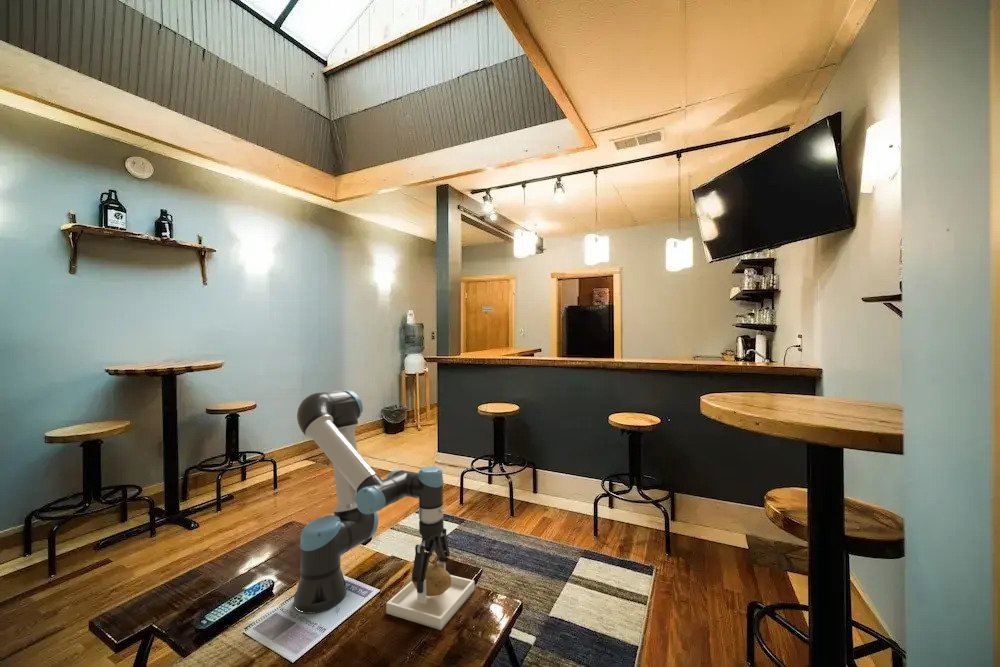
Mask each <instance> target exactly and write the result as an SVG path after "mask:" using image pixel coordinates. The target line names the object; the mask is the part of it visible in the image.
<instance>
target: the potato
mask: <svg viewBox="0 0 1000 667" xmlns="http://www.w3.org/2000/svg"><path fill="white" fill-rule="evenodd" d="M412 574H413V568H412V570H411V575H412ZM450 575H451V574H450V572H448V571H447V569H446V570H445V569H443V568H442V567H440V566H437V564H434V563H430V562H429V563H428V567H427V571H426V575H425V579H424V580H426V595H427V596H437V595H440V594H443V593H444V592H445V591H446V590H447V589H448V588H449V587H450V586H451V577H450ZM421 577H422V576H421ZM413 583H414V586H415V588H416V589H417V583H416V582H413Z"/></svg>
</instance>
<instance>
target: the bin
mask: <svg viewBox="0 0 1000 667" xmlns="http://www.w3.org/2000/svg"><path fill="white" fill-rule="evenodd" d="M450 577H451V586H450V587H449V588H448V589H447V590H446V591H445V592H444V593H443V594H440V595H437V596H427V595H426V604H423V603H419V602H417V589H416V588H415V586H414V583H413V582H412V580H410V582H408V583H407V584H406V585H405V586H404V587H402V589H400V590H399V591H398V592H397V593H396V594H395V595H394V596H392V597H391V598H390V599H389V600H388V601H386V605H385V606H386V607H385V608H386V609H385V611H386V612H385V613H386V614H387V615H389V616H390V615H391V616H394V617H396V618H400V619H404V620H407V621H409V622H414V623H416V624H419V625H423V626H426V627H429V628H433V629H436V630H438V631H442V630H443V628H444V627H445V626H446V625H447V624H448V622H449V621H450V620H452V618H453V617H454V615H455V614H456V613H457V612H458V611H459V610H460V608H461V607H462V606H463V605H464V604H465V602H466V601H467V600H468V599H469V598H470V596H471V595H472V594H473V592H475V588H476V587H475V580H473V579H469V578H465V577H461V576H456V575H454V574H450Z"/></svg>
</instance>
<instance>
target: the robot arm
mask: <svg viewBox="0 0 1000 667" xmlns="http://www.w3.org/2000/svg"><path fill="white" fill-rule="evenodd" d="M363 410H364V407H363V402H362V398H361V397H360V396H359V394H357V393H356V392H355V391H353V390H349V389H346V390H345V389H339V390H338V389H337V390H332V391H325V392H324V391H322V392H315V393H313V394H310V395H308V396H306V397H305V398H304V399H303V400H302V401H301V403H300V405H299V406H298V409H297V413H296V421H297V424H298V427H299V429H300V430H301V432H302V433H303V435H304V436H305V437H306V438H307V439H310V440H313V441H314V442H315V444H316V445H317V446H318V447H319V449H320V450H322V451H321V452H323V453H324V455H325V456H326V457H327V458H328V459H329V461H330V462H331V463H332V467H333V468H332V469H333V474H334V475H333V476H334V483H335V493H336V500H337V504H336V506H335V507H334V509H333V513H334V515H332V514H330V515H325V516H322V517H321V516H319V517H317V518H315V519H313V520H310V521H309V522H308V523H307V524H305V526H304V527H303V528H302V530H301V533H300V539H299V548H300V562H299V563H300V568H299V570H300V572H299V573H300V578H299V582H298V585H297V588H296V591H295V593H294V596H293V607H294V606H295V607H296V608H297V609H298V610H300V611H303V612H306V613H305V614H308V613H307V612H312V613H311V614H314V613H313V612H315V613H319V612H320V613H321V612H323V611H326V610H329V609H331V608H333V607H335V606H336V605H338V604H339V603H341V602H342V600H344V599H345V597H346V595H347V582H346V581H345V578H344V575H343V571H342V569H341V557H342V555H344V554H345V553H347V552H349V551H351V550H353V549H355V548H356V547H358V546H359V545H362V544H364V543H366V542H367V541H368V540H369V539H370V538H373V536H374V535H375V533H376V532H377V530H378V526H379V514H378V512H379V511H382V510H383V509H384V508H387V507H388V506H390V505H392V504H394V503H396V502H398V501H401V500H402V499H404V498H408V497H409V498H414V499H418V519H419V522H418V532H419V534H420V535H421V538H422V539H421V543H420V544H416V545H415V547H414V552H415V556H414V561H413V568H412V569H413V574H412V573H411V581H412V582H416V583H417V602H419V603H423V604H426V580H424V579H425V575H426V571H427V567H428V563H430V559H431V557H432V556H433V552H434V553H435V554H436V557H437V559H438V561H436V565H437V566H440V567H442V568H443V569H445V570H446V571H447V569H446V567H447V566H446V565H447V564H446V562H449V560H450V558H449V557H450V554H451V553H450V548H449V547H450V546H449V542H448V537H447V529H446V528H444V518H443V517H444V477H443V475H444V474H443V470H442V469H441V468H440V467H439V466H424V467H422V468H420V469H419V471H418V472H414V471H408V470H404V469H394V470H392V471H391V472H390V473H389V474H388V475H387V477H386V478H385V479H382V478H381V476H379V475H378V473H377V472H376V471H375V469H373V467H371V465H370V464H369V463H368V462H367V461H366V459H365V458H364V457H363V456H362V455H361V454H360V452H359V451H358V445H357V439H356V438H357V437H356V433H355V430H356V428H357V427H358V426H359V421H358V419H360V417H361V416H362V413H363ZM421 576H422V577H421Z"/></svg>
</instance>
